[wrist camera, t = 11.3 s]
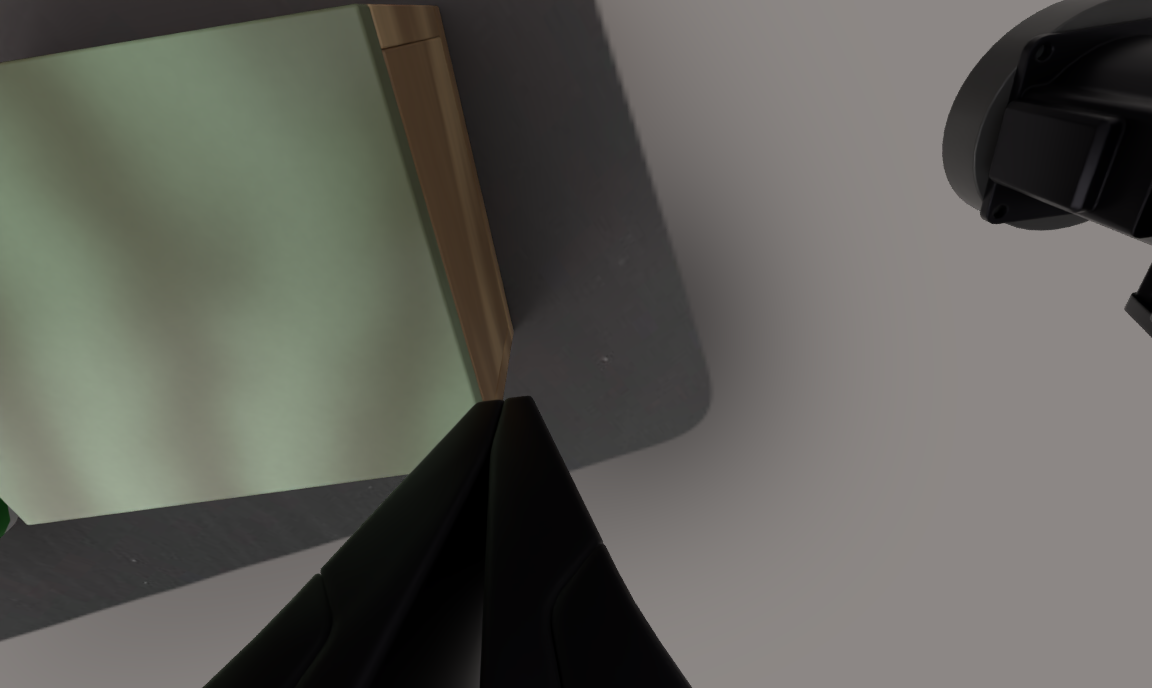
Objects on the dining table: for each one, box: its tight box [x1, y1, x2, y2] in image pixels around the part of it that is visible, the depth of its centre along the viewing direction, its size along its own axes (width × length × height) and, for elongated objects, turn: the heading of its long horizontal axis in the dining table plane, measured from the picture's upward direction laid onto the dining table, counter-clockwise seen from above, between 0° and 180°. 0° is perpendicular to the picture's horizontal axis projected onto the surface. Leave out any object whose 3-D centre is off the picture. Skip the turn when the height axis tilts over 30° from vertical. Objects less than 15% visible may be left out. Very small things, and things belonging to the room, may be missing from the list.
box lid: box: [0, 4, 483, 525], centre depth 14 cm, size 14×12×1 cm
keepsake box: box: [366, 4, 514, 401], centre depth 17 cm, size 14×12×7 cm
